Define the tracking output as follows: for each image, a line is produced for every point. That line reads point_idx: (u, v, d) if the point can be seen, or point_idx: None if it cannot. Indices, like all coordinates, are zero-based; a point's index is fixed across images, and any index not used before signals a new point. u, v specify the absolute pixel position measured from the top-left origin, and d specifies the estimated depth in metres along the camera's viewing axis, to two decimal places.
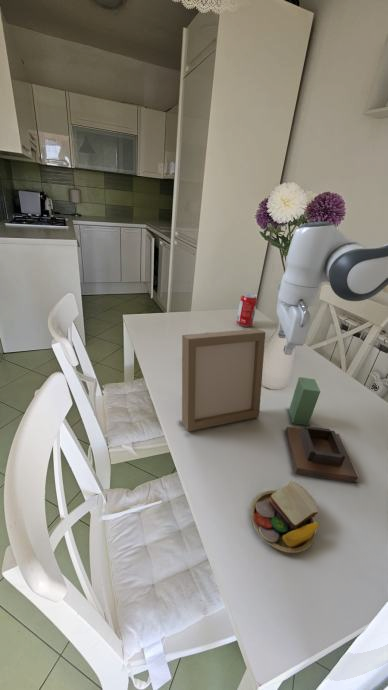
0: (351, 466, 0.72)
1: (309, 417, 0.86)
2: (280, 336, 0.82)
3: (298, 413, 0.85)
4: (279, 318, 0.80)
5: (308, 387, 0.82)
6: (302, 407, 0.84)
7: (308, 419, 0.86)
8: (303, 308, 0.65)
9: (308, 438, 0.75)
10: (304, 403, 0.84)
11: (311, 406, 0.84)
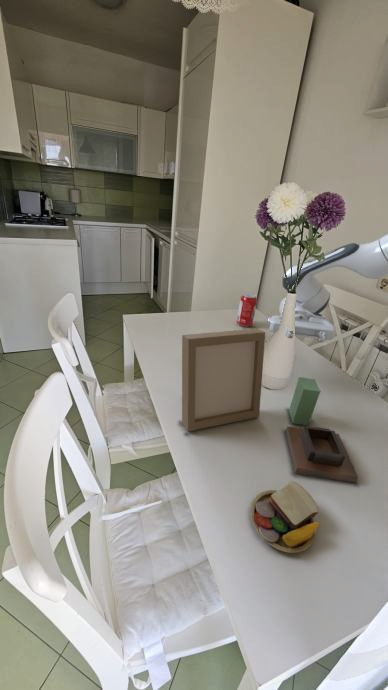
0: (351, 466, 0.72)
1: (309, 417, 0.86)
2: (318, 340, 0.93)
3: (298, 413, 0.85)
4: None
5: (308, 387, 0.82)
6: (302, 407, 0.84)
7: (308, 419, 0.86)
8: None
9: (308, 438, 0.75)
10: (304, 403, 0.84)
11: (311, 406, 0.84)
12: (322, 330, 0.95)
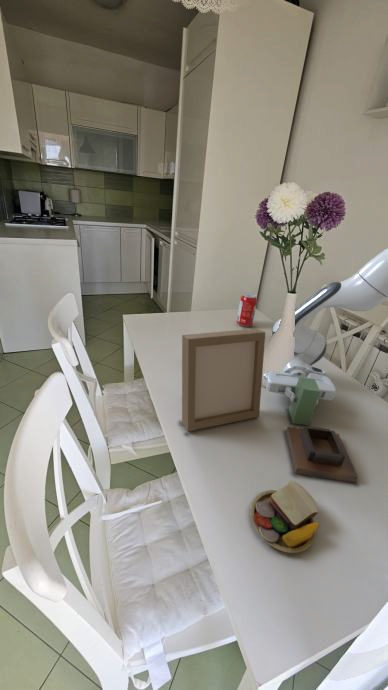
0: (351, 466, 0.72)
1: (309, 417, 0.86)
2: None
3: (298, 413, 0.85)
4: None
5: (308, 387, 0.82)
6: (302, 407, 0.84)
7: (308, 419, 0.86)
8: None
9: (308, 438, 0.75)
10: (304, 403, 0.84)
11: (311, 406, 0.84)
12: (322, 390, 0.89)
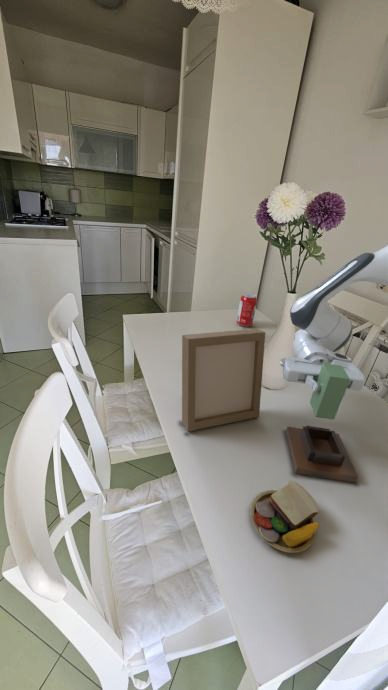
0: (351, 466, 0.72)
1: (335, 410, 0.73)
2: None
3: (323, 406, 0.73)
4: None
5: (335, 374, 0.70)
6: (327, 397, 0.71)
7: (334, 412, 0.73)
8: None
9: (308, 438, 0.75)
10: (330, 393, 0.71)
11: (338, 397, 0.71)
12: None
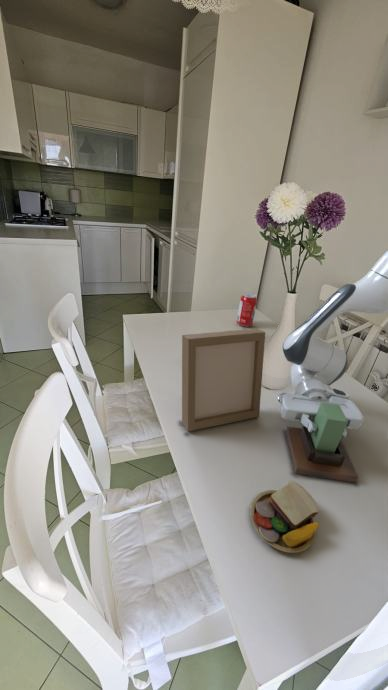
0: (351, 466, 0.72)
1: (333, 450, 0.72)
2: None
3: (321, 446, 0.72)
4: None
5: (333, 416, 0.69)
6: (325, 439, 0.71)
7: None
8: None
9: (308, 438, 0.75)
10: (328, 435, 0.70)
11: (335, 438, 0.70)
12: (347, 419, 0.76)
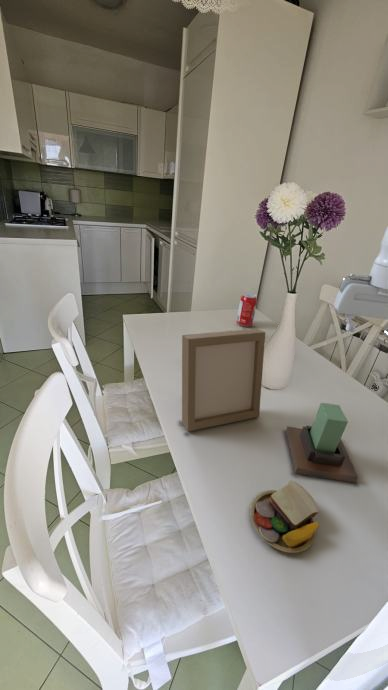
0: (351, 466, 0.72)
1: (333, 450, 0.72)
2: (384, 333, 0.76)
3: (321, 446, 0.72)
4: None
5: (333, 416, 0.69)
6: (325, 439, 0.71)
7: None
8: None
9: (308, 438, 0.75)
10: (328, 435, 0.70)
11: (335, 438, 0.70)
12: None
